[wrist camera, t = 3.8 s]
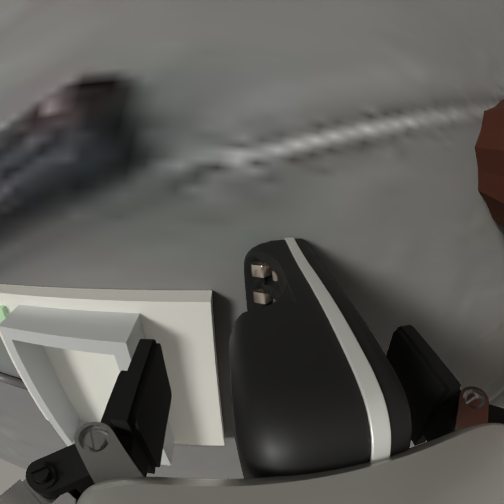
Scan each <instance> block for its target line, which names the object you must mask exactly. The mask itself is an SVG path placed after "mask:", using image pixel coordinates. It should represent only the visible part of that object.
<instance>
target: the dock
mask: <svg viewBox="0 0 504 504" xmlns="http://www.w3.org/2000/svg"><path fill="white" fill-rule="evenodd" d="M0 336H1V338H2V341H3V343H4V345H5V347H6V349H7V351H8V353H9V356H10V358H11V360H12V362H13V364H14V365H15V367H16V369H17V371H18V373H19V375H20V377H21V379H18V378H15V377H12V376H9V375H5V374H2V373H0V381H1V382H4V383H7V384H10V385H13V386H16V387H19V388H22V389H26V390H28V391H29V393H30V394H31V396H32V398H33V399H34V401H35V402H36V404H37V406H38V407H39V409H40V410H41V412H42V413H43V415H44V416H45V418H46V419H47V420H49V421H50V423H51V424H52V426H53V427H54V428H55V430H56V431H57V433H58V434H59V435H60V437H61V438H62V439H63V441H64V442H65V443H66V445H67V446H70V445H72V444H74V443H75V441H74V438H75V434H76V432H77V430H78V429H79V428H80V427H81V426H83V425H84V424H86V423H90V422H101V419H102V416H103V414H104V411H105V408H106V406H107V403H108V400H109V398H110V395H111V393H112V390H113V387H114V385H115V382H116V380H117V377H118V375H119V373H120V371H122V370H124V371H127V370H128V367H129V365H130V362H131V360H132V357H133V355H134V352H135V350H136V347H137V345H138V342H139V340H140V339H155V341H156V343H160V344H161V348H162V353H163V357H164V362H165V366H166V371H167V375H168V379H169V383H170V388H171V392H172V399H171V405H170V410H169V416H168V422H167V427H166V433H165V439H164V446H163V452H162V458H161V465H170V466H171V462H172V454H173V447H174V444H189V445H224V427H223V418H222V408H221V398H220V388H219V377H218V366H217V354H216V341H215V328H214V314H213V298H212V290H115V289H82V288H58V287H38V286H21V285H6V284H0Z"/></svg>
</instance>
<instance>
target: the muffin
mask: <svg viewBox="0 0 504 504" xmlns="http://www.w3.org/2000/svg"><path fill="white" fill-rule="evenodd" d="M475 151H476V157H477V164H478V191H479V192H480V194H481V195H482V197H483V198H484V200H485V201H486V203H487V205H488V208H489V210H490V213H491V215H492V218H493V219H494V220H496V221H497V222H499V223H500V224H502V225H503V226H504V99H503V100H502V101H501V102H500V103H499V104H497V105H496V106H495V107H494V108H491V109H489V110H487V111H484V117H483V122H482V128H481V132H480V135H479V137H478V140H477V143H476V146H475Z"/></svg>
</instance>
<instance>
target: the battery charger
mask: <svg viewBox="0 0 504 504" xmlns="http://www.w3.org/2000/svg"><path fill="white" fill-rule="evenodd" d="M244 276H245V287H246V299H247V310H248V311H247V312H244V313H242V314H241V315H240V316H239V318H238V319H237V320H236V321H235V323H234V327H233V331H232V333H231V335H230V338H229V369H230V387H231V401H232V413H233V423H234V432H235V441H236V445H237V450H238V455H239V459H240V463H241V468H242V472H243V476H244V479H247V478H264V477H276V476H278V477H280V476H293V475H304V474H311V473H318V472H324V471H330V470H335V469H341V468H346V467H350V466H355V465H359V464H363V463H368V462H370V463H373V462H377V461H381V460H384V459H388V458H390V456H393V455H396V454H400V453H402V452H405V451H407V450H409V447H410V441H411V434H412V422H411V411H410V408H409V404H408V401H407V397H406V394H405V391H404V389H403V387H402V385H401V383H400V381H399V379H398V377H397V374H396V373H395V371H394V369H393V367H392V365H391V364H390V362H389V360H388V359H387V357H386V355H385V354H384V352H383V350H382V349H381V347H380V345H379V344H378V342H377V341H376V339H375V337H374V336H373V334H372V333H371V331H370V329H369V328H368V326H367V325H366V323H365V322H364V320H363V319H362V317H361V316H360V314H359V313H358V311H357V310H356V309H355V307H354V306H353V304H352V303H351V301H350V300H349V299H348V297H347V296H346V295H345V293H344V292H343V291H342V289H341V288H340V287H339V286H338V284H337V283H336V282H335V280H334V279H333V278H332V276H331V275H330V274H329V273H328V272H327V270H326V269H325V268H324V267H323V265H322V264H321V263H320V261H319V260H318V258H317V257H316V255H315V254H314V252H313V251H312V249H311V248H310V246H309V245H308V243H307V242H306V241H305V240H303V239H294V238H293V237H290V238H285V239H284V240H276V241H269V242H266V243H262V244H260V245H257V246H256V247H254V248H252V249H251V250H250V251H249V252H248V253H247V255H246V257H245V261H244Z"/></svg>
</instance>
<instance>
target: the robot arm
mask: <svg viewBox="0 0 504 504" xmlns="http://www.w3.org/2000/svg"><path fill="white" fill-rule="evenodd" d="M386 357H387V359H388V360H389V362H390V364H391V365H392V367H393V369H394V371H395V373H396V374H397V377H398V379H399V381H400V383H401V385H402V387H403V389H404V391H405V394H406V397H407V401H408V404H409V408H410V411H411V422H412V434H411V440H412V441H413V443H414V445H417V446H415V447H412V448H409V450H407V451H405V452H402V453H400V454H396V455H393V456H390V458H388V459H384V460H381V461H377V462H373V463H370V462H368V463H363V464H359V465H355V466H350V467H346V468H341V469H335V470H330V471H324V472H318V473H311V474H304V475H293V476H280V477H278V476H276V477H264V478H247V479H190V478H168V477H146V475H147V473H153V474H155V467H160V464H161V458H162V452H163V446H164V439H165V433H166V427H167V422H168V416H169V410H170V405H171V399H172V392H171V388H170V383H169V379H168V375H167V371H166V366H165V362H164V357H163V353H162V348H161V344H160V343H156V341H155V339H140V340H139V342H138V345H137V347H136V350H135V352H134V355H133V357H132V360H131V362H130V365H129V367H128V370H127V371H124V370H122V371H120V373H119V375H118V377H117V380H116V382H115V385H114V387H113V390H112V393H111V395H110V398H109V400H108V403H107V406H106V408H105V411H104V414H103V416H102V419H101V422H90V423H86V424H84V425H83V426H81V427H80V428H79V429H78V430H77V432H76V434H75V438H74V441H75V443H74V444H72V445H70V446H68V447H65V448H63V449H61V450H59V451H57V452H54V453H52V454H50V455H47V456H45V457H43V458H40V459H38V460H36V461H34V462H32V463H31V464H30V465H29V466H28V468H27V471H26V479H25V480H24V481H23V482H22V481H21V480H19V481H17V482H16V483H15V484H14V485H12V487H10V488H9V489H8V490H6V491H5V492H4V493H3V494H2V495H0V504H504V409H503V408H499V407H496V406H493V405H489V401H488V397H487V395H486V394H485V392H484V391H482V390H481V389H479V388H477V387H466V388H464V389H463V390H462V391H461V390H460V389H459V388H460V386H461V384H460V383H459V382H458V381H457V379H456V378H455V377H454V375H453V374H452V373H451V372H450V370H449V369H448V368H447V367H446V365H445V364H444V363H443V362H442V361H441V359H440V358H439V357H438V356H437V354H436V353H435V352H434V351H433V350H432V348H431V347H430V346H429V345H428V344H427V342H426V341H425V340H424V339H423V338H422V337H421V335H420V334H419V333H418V332H417V331H416V330H415V328H414V327H413V326H412V325H407V326H400V327H398V328H397V330H396V331H394V333H393V336H392V340H391V343H390V346H389V349H388V352H387V355H386ZM426 440H427V442H426V443H423V442H425V441H426ZM421 443H423V444H421ZM418 444H420V445H418Z"/></svg>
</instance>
